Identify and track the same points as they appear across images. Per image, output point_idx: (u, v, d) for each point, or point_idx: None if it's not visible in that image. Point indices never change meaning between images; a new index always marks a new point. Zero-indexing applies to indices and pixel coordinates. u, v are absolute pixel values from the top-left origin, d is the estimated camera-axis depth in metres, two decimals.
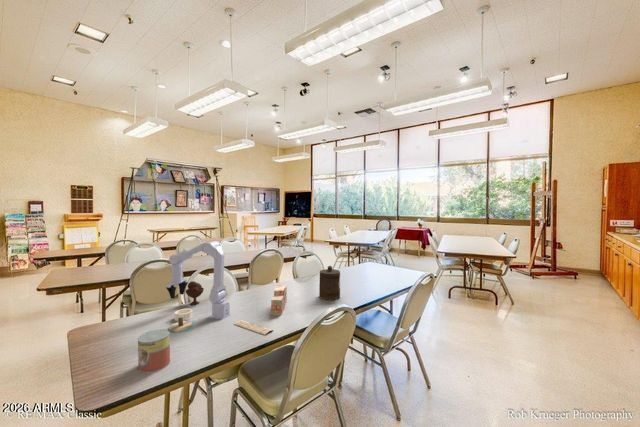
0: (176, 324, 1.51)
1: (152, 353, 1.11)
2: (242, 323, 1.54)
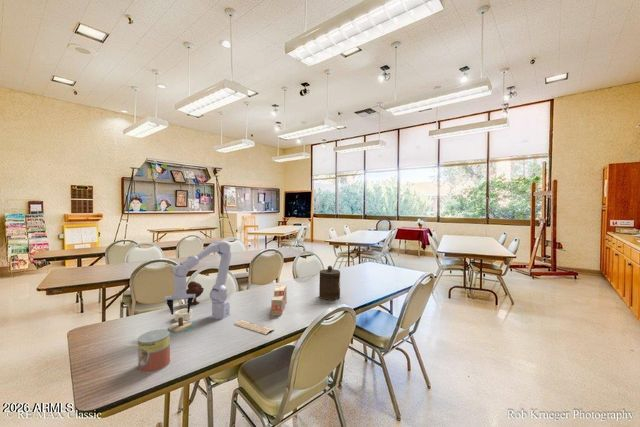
0: (176, 324, 1.51)
1: (152, 353, 1.11)
2: (242, 323, 1.54)
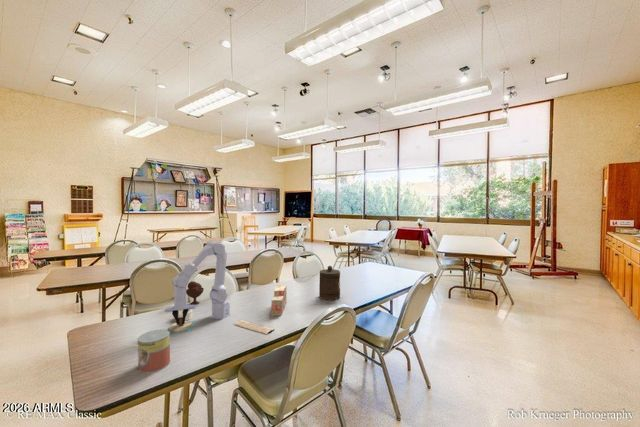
0: (176, 324, 1.51)
1: (152, 353, 1.11)
2: (242, 323, 1.54)
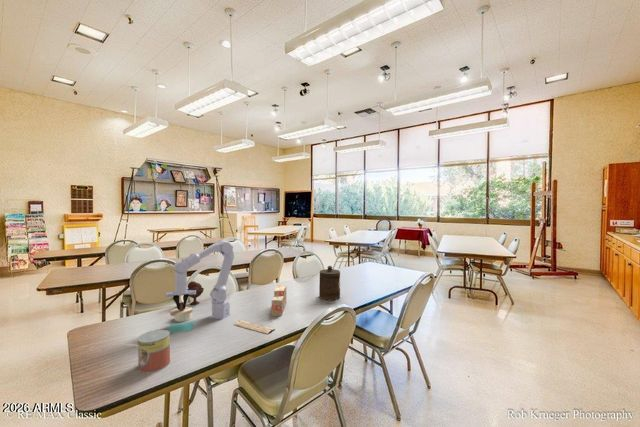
0: (177, 309, 1.54)
1: (152, 353, 1.11)
2: (242, 323, 1.54)
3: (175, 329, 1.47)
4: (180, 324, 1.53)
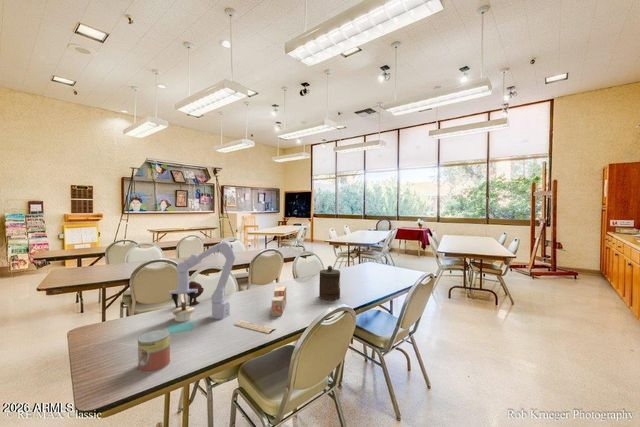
0: (179, 308, 1.63)
1: (152, 353, 1.11)
2: (242, 323, 1.54)
3: (175, 329, 1.47)
4: (180, 324, 1.53)
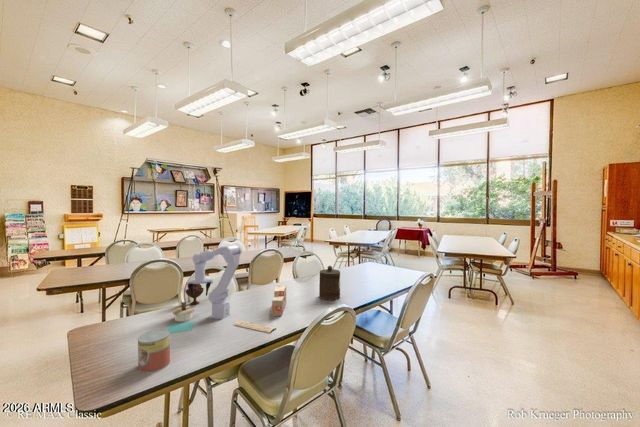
0: (179, 308, 1.63)
1: (152, 353, 1.11)
2: (242, 323, 1.54)
3: (175, 329, 1.47)
4: (180, 324, 1.53)
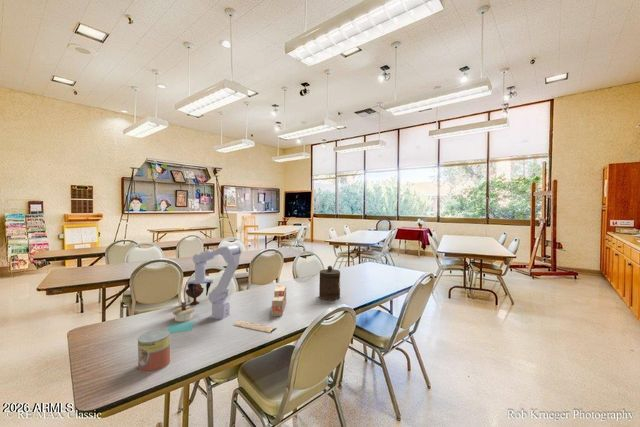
0: (179, 308, 1.63)
1: (152, 353, 1.11)
2: (242, 323, 1.54)
3: (175, 329, 1.47)
4: (180, 324, 1.53)
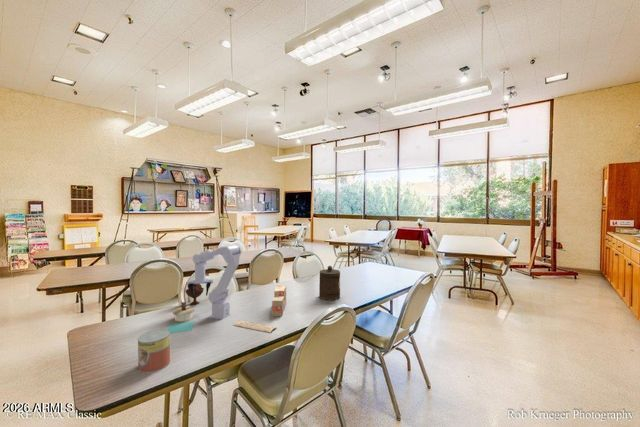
0: (179, 308, 1.63)
1: (152, 353, 1.11)
2: (242, 323, 1.54)
3: (175, 329, 1.47)
4: (180, 324, 1.53)
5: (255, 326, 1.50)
